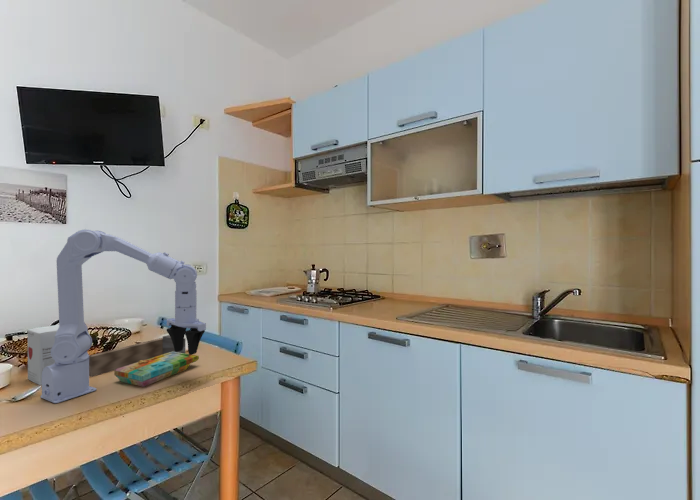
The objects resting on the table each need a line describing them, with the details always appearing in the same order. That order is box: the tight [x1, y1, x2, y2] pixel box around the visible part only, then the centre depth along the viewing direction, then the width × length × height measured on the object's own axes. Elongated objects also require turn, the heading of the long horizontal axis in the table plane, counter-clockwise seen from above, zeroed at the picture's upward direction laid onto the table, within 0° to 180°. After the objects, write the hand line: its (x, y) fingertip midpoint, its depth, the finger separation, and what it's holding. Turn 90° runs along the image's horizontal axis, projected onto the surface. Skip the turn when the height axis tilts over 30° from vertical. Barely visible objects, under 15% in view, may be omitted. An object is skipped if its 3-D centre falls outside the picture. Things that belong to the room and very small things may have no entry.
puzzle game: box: [113, 351, 200, 387], centre depth 109 cm, size 12×5×20 cm
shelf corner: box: [89, 334, 186, 378], centre depth 115 cm, size 25×12×7 cm, turn 153°
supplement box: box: [27, 324, 59, 386], centre depth 105 cm, size 9×9×15 cm
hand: (185, 352), depth 103 cm, fingers open, 5 cm apart
